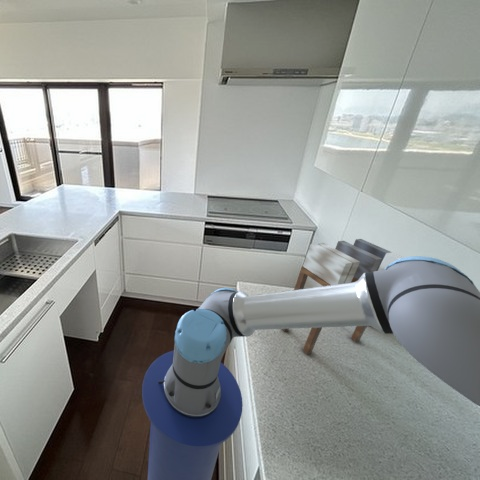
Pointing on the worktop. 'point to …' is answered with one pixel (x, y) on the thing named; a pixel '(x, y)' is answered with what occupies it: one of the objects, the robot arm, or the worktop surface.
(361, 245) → the wooden side table
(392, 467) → the worktop surface
